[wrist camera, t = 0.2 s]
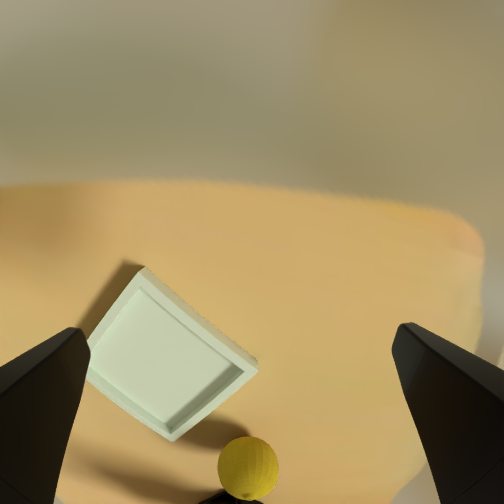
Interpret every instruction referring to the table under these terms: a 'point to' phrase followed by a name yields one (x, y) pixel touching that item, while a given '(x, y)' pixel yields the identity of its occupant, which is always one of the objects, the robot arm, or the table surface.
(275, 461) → the lemon
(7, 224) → the table surface
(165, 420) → the dish
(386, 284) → the table surface
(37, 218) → the table surface
